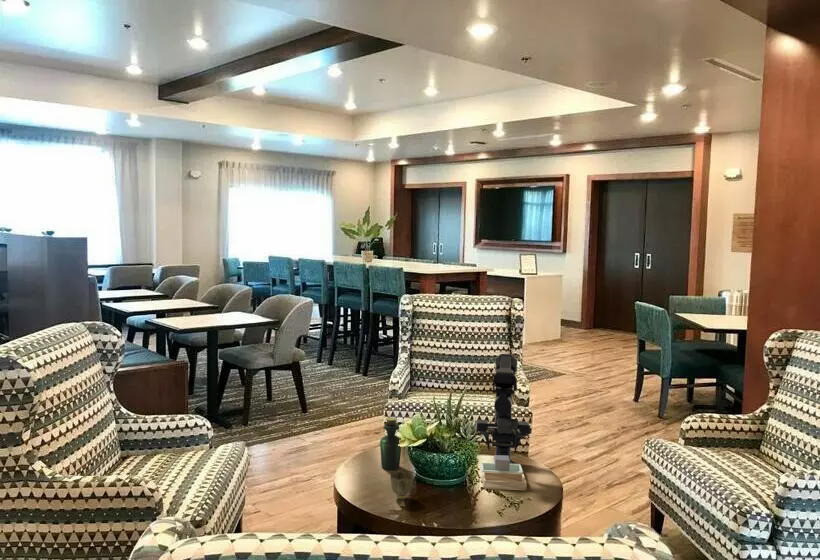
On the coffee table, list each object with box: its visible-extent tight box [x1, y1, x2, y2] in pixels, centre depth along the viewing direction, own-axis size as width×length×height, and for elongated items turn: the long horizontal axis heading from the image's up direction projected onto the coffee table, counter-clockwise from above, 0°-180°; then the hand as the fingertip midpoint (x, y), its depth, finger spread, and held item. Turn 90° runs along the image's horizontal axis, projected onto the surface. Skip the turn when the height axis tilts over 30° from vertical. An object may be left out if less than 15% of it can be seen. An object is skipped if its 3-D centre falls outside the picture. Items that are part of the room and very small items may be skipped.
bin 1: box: [480, 462, 524, 476], centre depth 225 cm, size 8×14×4 cm, turn 87°
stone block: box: [493, 454, 510, 471], centre depth 225 cm, size 5×5×6 cm
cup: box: [389, 470, 414, 501], centre depth 204 cm, size 8×7×8 cm
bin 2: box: [481, 472, 528, 491], centre depth 216 cm, size 8×14×4 cm, turn 87°
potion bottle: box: [379, 416, 402, 471], centre depth 232 cm, size 8×8×18 cm
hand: (502, 450), depth 225 cm, fingers open, 9 cm apart
